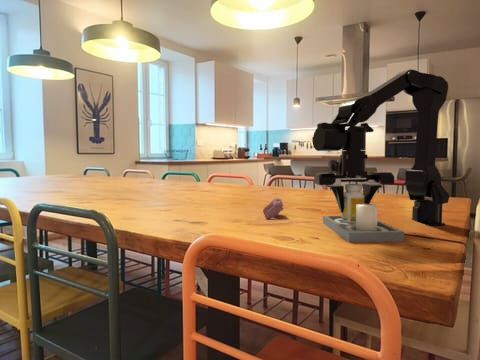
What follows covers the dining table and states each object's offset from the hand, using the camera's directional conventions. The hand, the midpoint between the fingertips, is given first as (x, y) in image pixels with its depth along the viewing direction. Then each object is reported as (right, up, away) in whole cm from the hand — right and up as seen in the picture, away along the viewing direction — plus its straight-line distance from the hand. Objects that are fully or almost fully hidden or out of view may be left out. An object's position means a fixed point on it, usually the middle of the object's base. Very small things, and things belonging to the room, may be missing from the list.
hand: (352, 212), depth 88 cm
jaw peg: (0, -5, -9) cm, 10 cm away
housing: (0, -5, -4) cm, 7 cm away
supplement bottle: (0, -3, 0) cm, 3 cm away
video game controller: (-18, -4, +22) cm, 29 cm away
